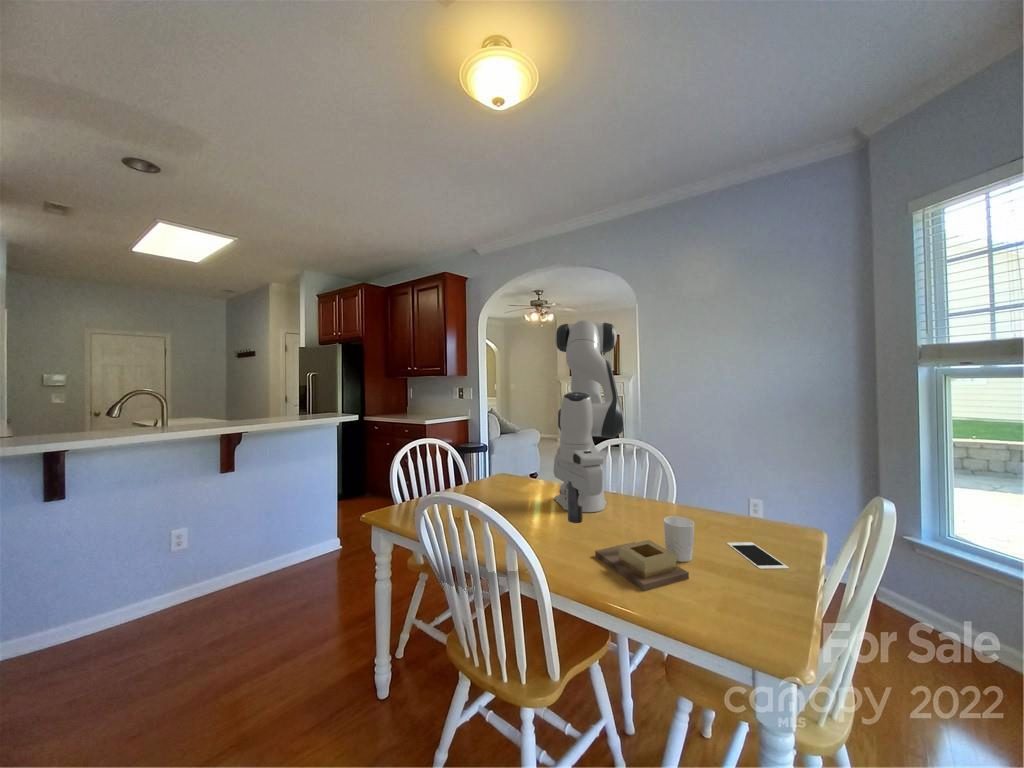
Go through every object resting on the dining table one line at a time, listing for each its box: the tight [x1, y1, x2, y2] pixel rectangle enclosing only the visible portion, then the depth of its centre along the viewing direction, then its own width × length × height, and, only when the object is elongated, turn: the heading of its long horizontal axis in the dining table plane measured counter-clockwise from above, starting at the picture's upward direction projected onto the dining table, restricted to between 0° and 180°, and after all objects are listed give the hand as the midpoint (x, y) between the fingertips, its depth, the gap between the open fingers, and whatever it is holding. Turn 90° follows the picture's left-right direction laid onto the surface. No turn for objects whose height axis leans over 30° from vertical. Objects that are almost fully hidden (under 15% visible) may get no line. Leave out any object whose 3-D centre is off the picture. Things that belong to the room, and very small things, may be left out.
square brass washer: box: [618, 539, 677, 579], centre depth 102 cm, size 10×10×4 cm
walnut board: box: [594, 541, 690, 592], centre depth 105 cm, size 20×14×2 cm
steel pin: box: [567, 481, 584, 524], centre depth 108 cm, size 4×4×11 cm
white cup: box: [663, 515, 695, 563], centre depth 110 cm, size 8×8×10 cm
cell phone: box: [726, 541, 790, 570], centre depth 110 cm, size 8×16×1 cm, turn 0°
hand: (575, 502), depth 108 cm, fingers closed on steel pin, 4 cm apart
